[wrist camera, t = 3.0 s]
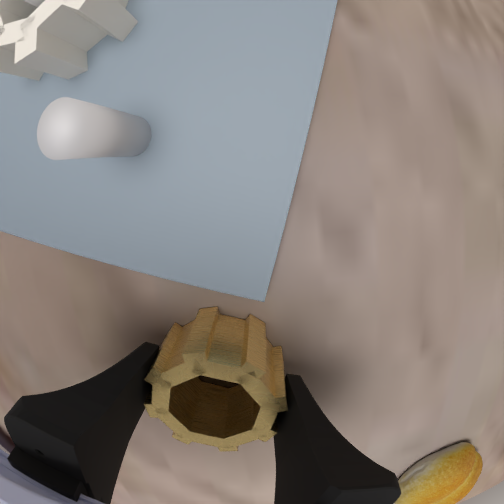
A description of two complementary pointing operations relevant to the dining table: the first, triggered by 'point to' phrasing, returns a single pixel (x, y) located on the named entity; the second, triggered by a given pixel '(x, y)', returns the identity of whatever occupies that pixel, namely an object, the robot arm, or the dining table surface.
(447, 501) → the bread roll
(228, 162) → the gear board
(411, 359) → the dining table surface
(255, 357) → the brass gear
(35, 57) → the gear
